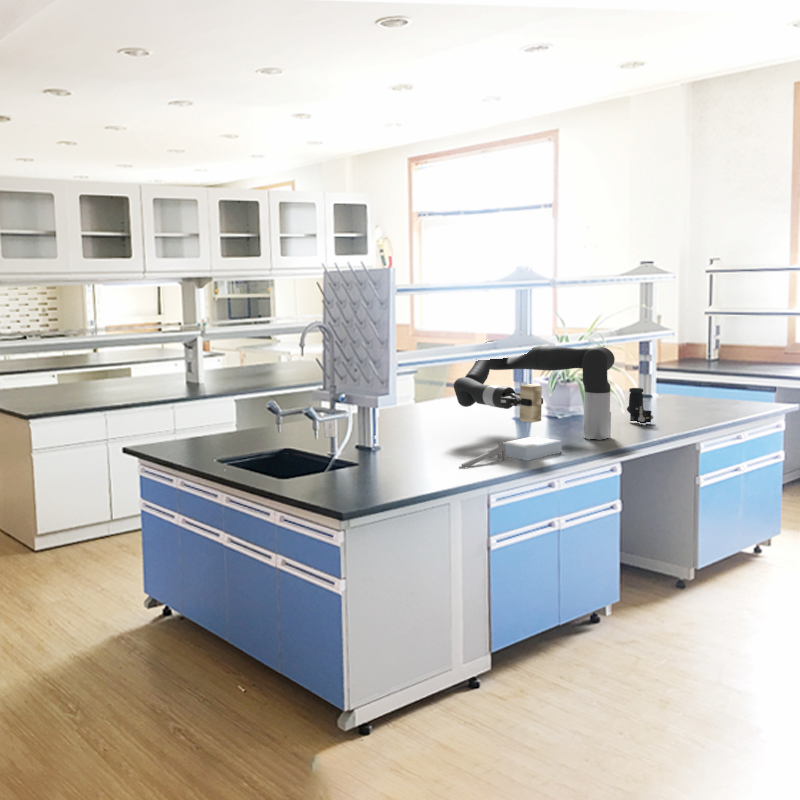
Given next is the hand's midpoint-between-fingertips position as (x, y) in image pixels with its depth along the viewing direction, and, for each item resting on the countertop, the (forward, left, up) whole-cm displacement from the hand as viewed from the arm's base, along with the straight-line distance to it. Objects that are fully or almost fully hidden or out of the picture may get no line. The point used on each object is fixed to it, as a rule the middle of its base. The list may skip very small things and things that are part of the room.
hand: (536, 402), depth 280 cm
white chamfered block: (0, -3, -18) cm, 18 cm away
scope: (-75, -11, -18) cm, 78 cm away
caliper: (+22, -3, -18) cm, 29 cm away
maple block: (0, -3, -7) cm, 7 cm away
